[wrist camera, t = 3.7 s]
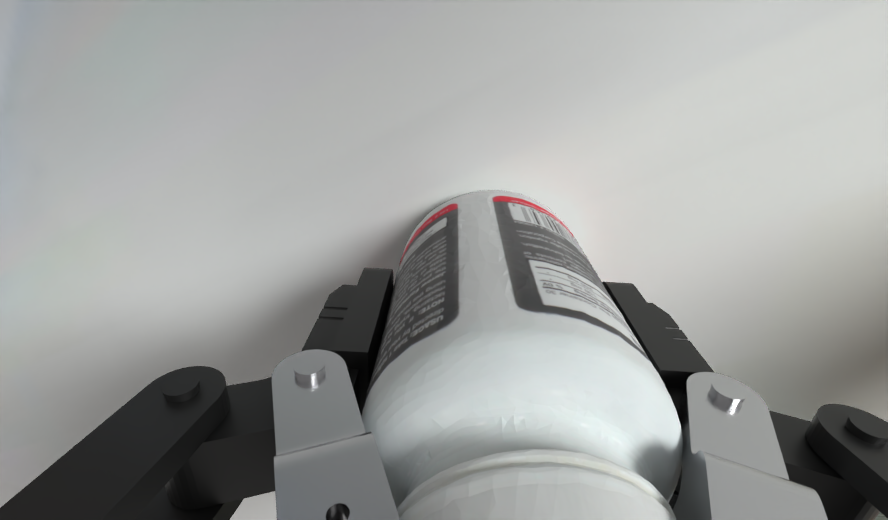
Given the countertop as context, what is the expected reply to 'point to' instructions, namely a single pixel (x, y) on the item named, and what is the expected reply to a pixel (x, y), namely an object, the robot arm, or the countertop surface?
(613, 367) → the pill bottle
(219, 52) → the countertop surface
